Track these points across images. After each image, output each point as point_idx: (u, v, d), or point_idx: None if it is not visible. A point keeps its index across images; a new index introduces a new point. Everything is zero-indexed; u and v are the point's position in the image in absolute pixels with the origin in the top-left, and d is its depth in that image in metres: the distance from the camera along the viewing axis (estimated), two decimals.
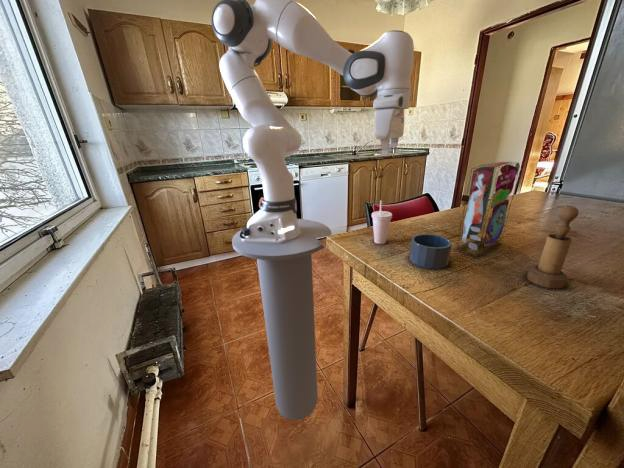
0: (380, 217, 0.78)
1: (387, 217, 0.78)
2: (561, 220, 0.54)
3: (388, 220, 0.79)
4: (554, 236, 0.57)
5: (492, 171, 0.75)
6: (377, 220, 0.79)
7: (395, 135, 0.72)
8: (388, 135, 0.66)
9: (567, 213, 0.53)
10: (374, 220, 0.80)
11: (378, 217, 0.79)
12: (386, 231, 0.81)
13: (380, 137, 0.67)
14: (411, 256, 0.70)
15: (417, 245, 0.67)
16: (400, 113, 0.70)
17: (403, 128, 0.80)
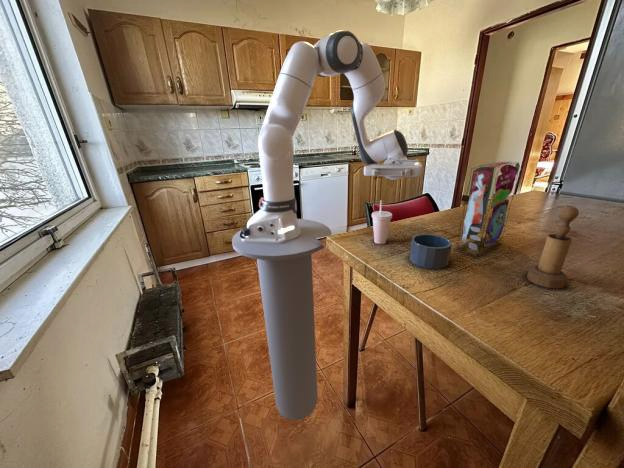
0: (380, 217, 0.78)
1: (387, 217, 0.78)
2: (562, 220, 0.54)
3: (388, 220, 0.79)
4: (554, 236, 0.57)
5: (492, 171, 0.75)
6: (377, 220, 0.79)
7: (397, 176, 0.91)
8: (420, 176, 0.89)
9: (567, 213, 0.53)
10: (374, 220, 0.80)
11: (378, 217, 0.79)
12: (386, 231, 0.81)
13: (421, 170, 0.87)
14: (411, 256, 0.70)
15: (417, 245, 0.67)
16: None
17: None
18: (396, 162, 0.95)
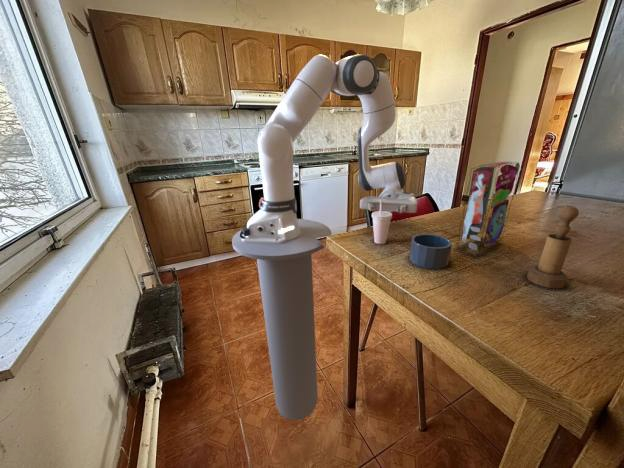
0: (380, 217, 0.78)
1: (387, 217, 0.78)
2: (562, 220, 0.54)
3: (388, 220, 0.79)
4: (554, 236, 0.57)
5: (492, 171, 0.75)
6: (377, 220, 0.79)
7: (392, 211, 0.93)
8: (415, 212, 0.90)
9: (567, 213, 0.53)
10: (374, 220, 0.80)
11: (378, 217, 0.79)
12: (386, 231, 0.81)
13: (416, 207, 0.89)
14: (411, 256, 0.70)
15: (417, 245, 0.67)
16: None
17: None
18: (392, 196, 0.96)
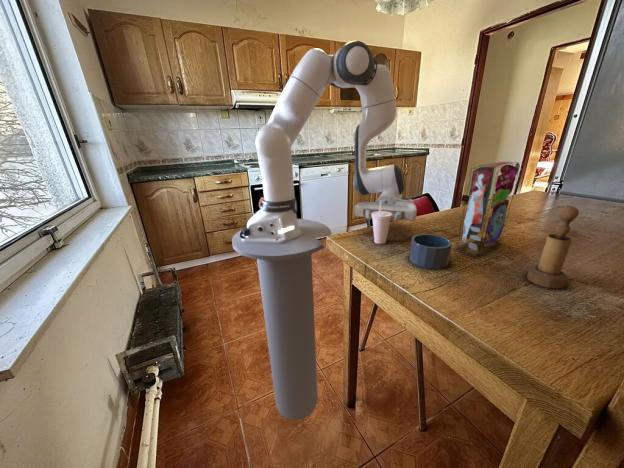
0: (380, 217, 0.78)
1: (387, 217, 0.78)
2: (561, 220, 0.54)
3: (388, 220, 0.79)
4: (554, 236, 0.57)
5: (492, 171, 0.75)
6: (377, 220, 0.79)
7: None
8: (414, 220, 0.82)
9: (567, 213, 0.53)
10: (374, 220, 0.80)
11: (378, 217, 0.79)
12: (386, 231, 0.81)
13: (415, 214, 0.81)
14: (411, 256, 0.70)
15: (417, 245, 0.67)
16: None
17: None
18: (389, 202, 0.88)
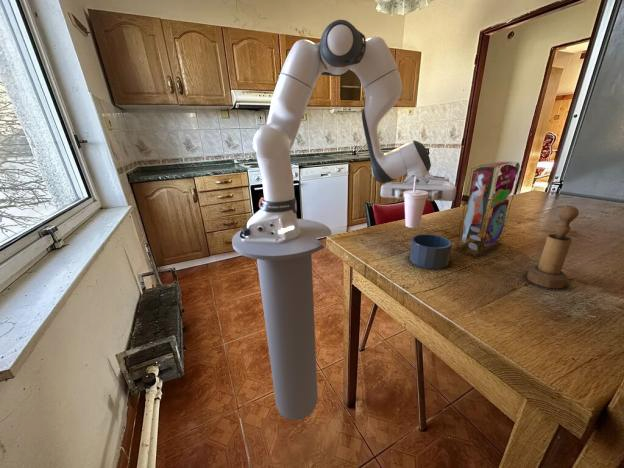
0: (415, 196, 0.67)
1: (423, 196, 0.67)
2: (562, 220, 0.54)
3: (424, 199, 0.68)
4: (554, 236, 0.57)
5: (492, 171, 0.75)
6: (411, 199, 0.68)
7: None
8: (452, 200, 0.71)
9: (567, 213, 0.53)
10: (407, 200, 0.69)
11: (412, 196, 0.67)
12: (421, 213, 0.70)
13: (454, 193, 0.70)
14: (411, 256, 0.70)
15: (417, 245, 0.67)
16: None
17: None
18: (421, 181, 0.77)
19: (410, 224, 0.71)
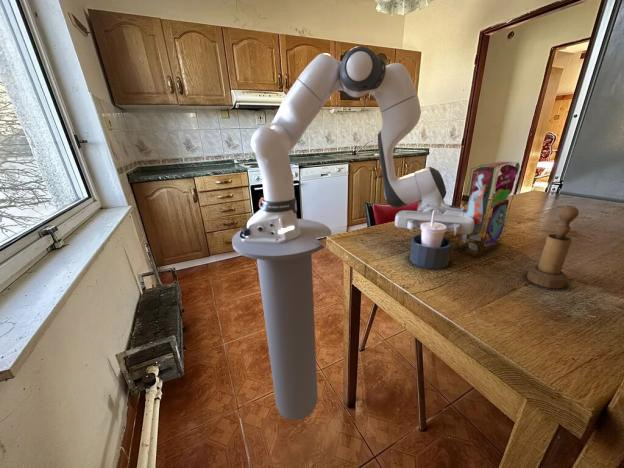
0: (433, 230, 0.65)
1: (442, 230, 0.65)
2: (561, 220, 0.54)
3: (442, 234, 0.66)
4: (554, 236, 0.57)
5: (492, 171, 0.75)
6: (429, 234, 0.66)
7: None
8: (470, 233, 0.69)
9: (567, 213, 0.53)
10: (424, 233, 0.67)
11: (431, 230, 0.65)
12: (438, 246, 0.68)
13: (473, 227, 0.68)
14: (411, 256, 0.70)
15: (417, 245, 0.67)
16: None
17: None
18: (436, 211, 0.75)
19: None
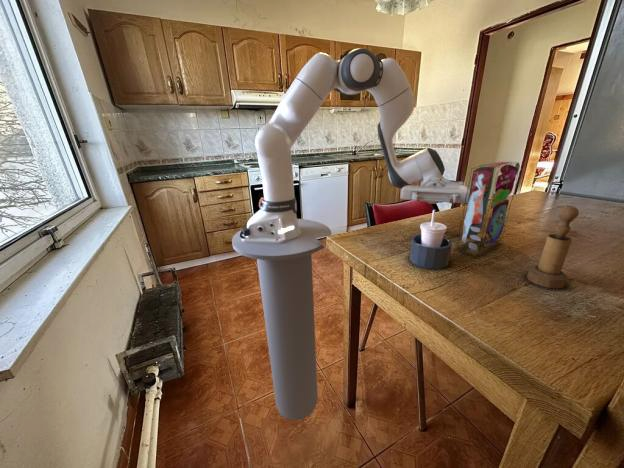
0: (433, 230, 0.65)
1: (442, 230, 0.65)
2: (562, 220, 0.54)
3: (442, 234, 0.66)
4: (554, 236, 0.57)
5: (492, 171, 0.75)
6: (429, 234, 0.66)
7: (440, 201, 0.80)
8: None
9: (567, 213, 0.53)
10: (424, 233, 0.67)
11: (431, 230, 0.65)
12: (438, 246, 0.68)
13: None
14: (411, 256, 0.70)
15: (417, 245, 0.67)
16: None
17: None
18: (438, 184, 0.84)
19: None
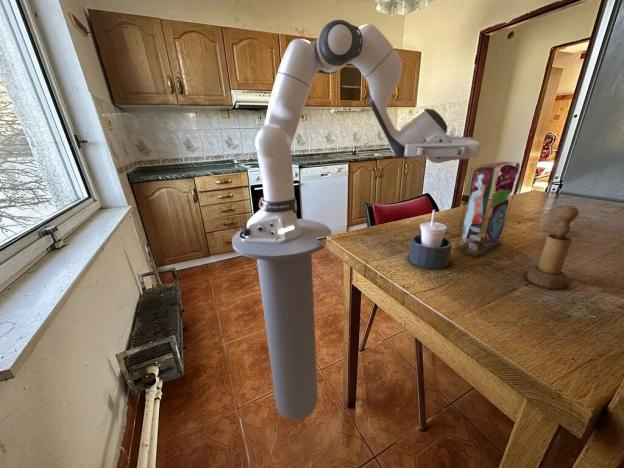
0: (433, 230, 0.65)
1: (442, 230, 0.65)
2: (561, 220, 0.54)
3: (442, 234, 0.66)
4: (554, 236, 0.57)
5: (492, 171, 0.75)
6: (429, 234, 0.66)
7: (447, 156, 0.76)
8: (477, 156, 0.73)
9: (567, 213, 0.53)
10: (424, 233, 0.67)
11: (431, 230, 0.65)
12: (438, 246, 0.68)
13: (479, 148, 0.72)
14: (411, 256, 0.70)
15: (417, 245, 0.67)
16: (444, 157, 0.81)
17: None
18: (444, 140, 0.79)
19: None
